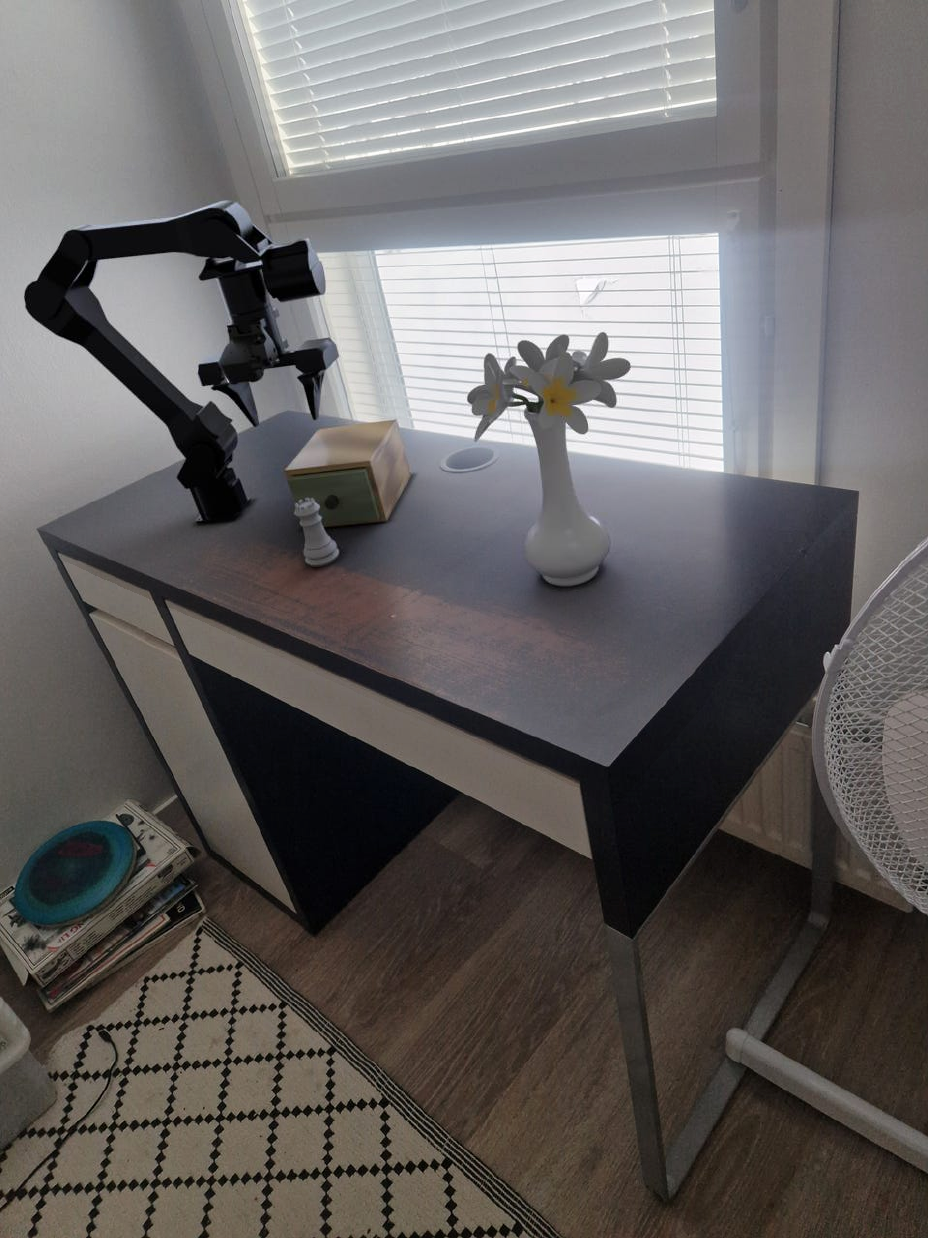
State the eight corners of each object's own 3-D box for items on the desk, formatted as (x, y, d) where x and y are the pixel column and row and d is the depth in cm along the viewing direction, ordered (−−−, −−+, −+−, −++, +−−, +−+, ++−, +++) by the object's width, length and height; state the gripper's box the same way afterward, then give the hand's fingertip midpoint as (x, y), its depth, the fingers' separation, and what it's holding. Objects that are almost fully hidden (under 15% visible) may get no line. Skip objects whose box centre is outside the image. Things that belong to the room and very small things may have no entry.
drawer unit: (386, 521, 114) (369, 460, 109) (303, 529, 117) (284, 470, 112) (411, 475, 125) (397, 418, 120) (335, 484, 128) (318, 429, 123)
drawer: (376, 524, 111) (362, 475, 108) (300, 531, 114) (283, 484, 111) (402, 477, 123) (390, 431, 119) (332, 484, 126) (318, 440, 122)
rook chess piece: (312, 572, 106) (293, 514, 101) (301, 559, 109) (282, 503, 105) (345, 558, 107) (327, 501, 103) (333, 546, 110) (315, 490, 106)
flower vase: (659, 535, 96) (640, 310, 83) (585, 624, 85) (549, 379, 71) (558, 523, 104) (526, 314, 90) (477, 603, 92) (426, 378, 78)
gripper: (157, 336, 107) (201, 452, 115) (291, 316, 101) (327, 439, 110) (198, 311, 116) (236, 420, 124) (323, 291, 110) (354, 407, 119)
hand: (286, 422), depth 119 cm, fingers open, 9 cm apart
